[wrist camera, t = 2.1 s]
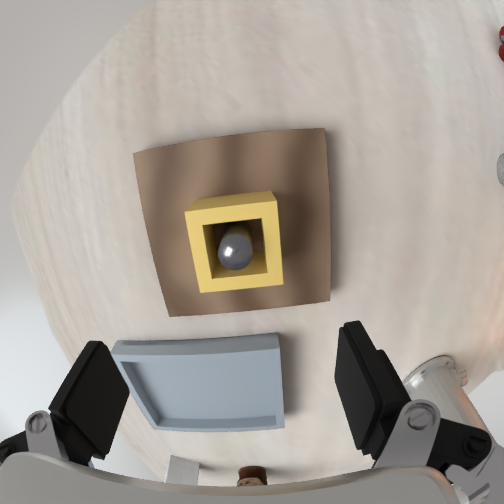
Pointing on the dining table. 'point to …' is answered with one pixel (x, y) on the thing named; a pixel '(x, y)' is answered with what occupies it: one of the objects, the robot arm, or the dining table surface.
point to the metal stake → (236, 245)
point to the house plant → (501, 169)
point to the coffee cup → (252, 477)
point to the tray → (205, 382)
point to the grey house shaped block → (181, 471)
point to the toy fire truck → (503, 48)
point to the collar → (204, 248)
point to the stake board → (240, 182)
